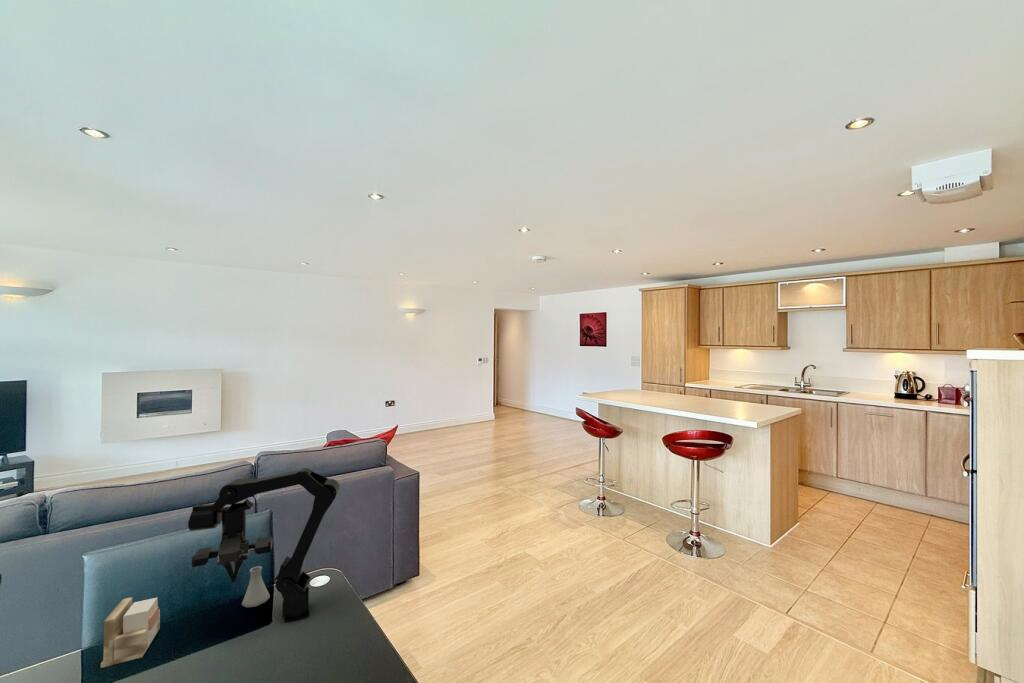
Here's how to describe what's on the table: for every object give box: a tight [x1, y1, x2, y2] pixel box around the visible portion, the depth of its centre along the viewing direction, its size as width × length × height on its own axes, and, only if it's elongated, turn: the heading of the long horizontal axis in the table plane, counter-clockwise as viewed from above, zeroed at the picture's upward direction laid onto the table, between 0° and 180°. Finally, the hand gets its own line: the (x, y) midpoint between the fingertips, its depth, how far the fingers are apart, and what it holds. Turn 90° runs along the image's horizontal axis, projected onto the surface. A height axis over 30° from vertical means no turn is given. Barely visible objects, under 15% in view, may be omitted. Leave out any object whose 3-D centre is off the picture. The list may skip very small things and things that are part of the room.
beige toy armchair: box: [100, 596, 161, 669], centre depth 109 cm, size 8×11×11 cm
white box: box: [123, 597, 160, 648], centre depth 110 cm, size 5×7×9 cm
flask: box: [241, 565, 271, 608], centre depth 129 cm, size 7×7×10 cm
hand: (234, 581), depth 118 cm, fingers closed
